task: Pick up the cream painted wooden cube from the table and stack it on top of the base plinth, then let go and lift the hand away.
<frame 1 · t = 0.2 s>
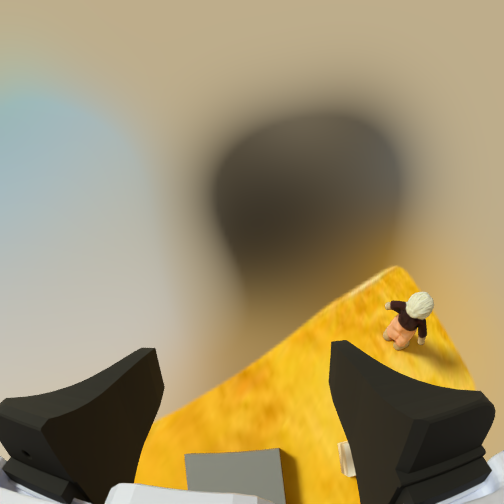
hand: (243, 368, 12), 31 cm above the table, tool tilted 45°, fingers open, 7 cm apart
cream cube: (355, 454, 32), on the table
base plinth: (238, 491, 31), on the table
grandmother figurine: (393, 336, 41), on the table
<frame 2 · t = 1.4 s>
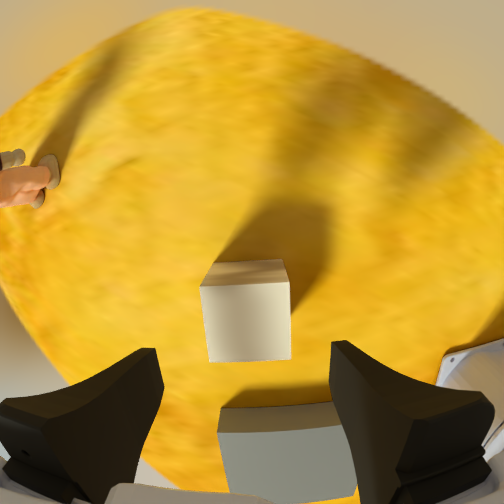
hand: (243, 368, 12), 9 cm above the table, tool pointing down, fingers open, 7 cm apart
cream cube: (249, 293, 21), on the table
base plinth: (293, 450, 24), on the table
grandmother figurine: (39, 186, 19), on the table
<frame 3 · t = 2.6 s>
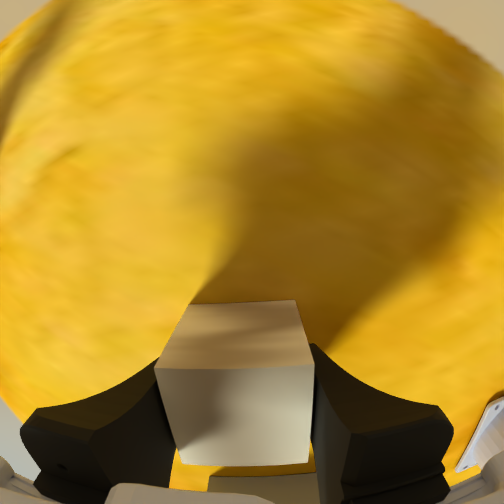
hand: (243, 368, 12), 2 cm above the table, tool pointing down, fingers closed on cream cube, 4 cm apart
cream cube: (244, 348, 13), on the table, touching gripper
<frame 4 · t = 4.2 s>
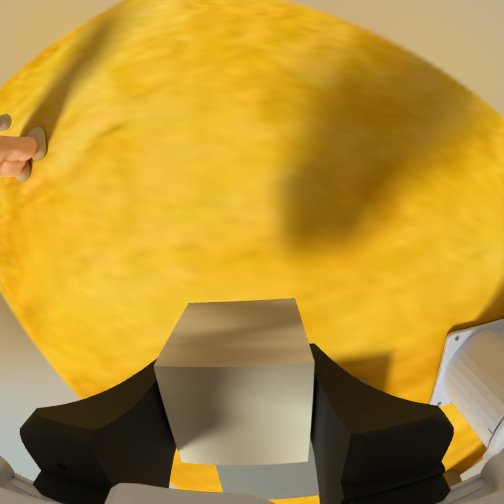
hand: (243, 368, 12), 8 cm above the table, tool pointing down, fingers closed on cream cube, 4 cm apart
cream cube: (244, 347, 13), point 7 cm above the table, touching gripper
base plinth: (289, 438, 23), on the table
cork: (439, 482, 26), on the table
grandmother figurine: (26, 159, 18), on the table
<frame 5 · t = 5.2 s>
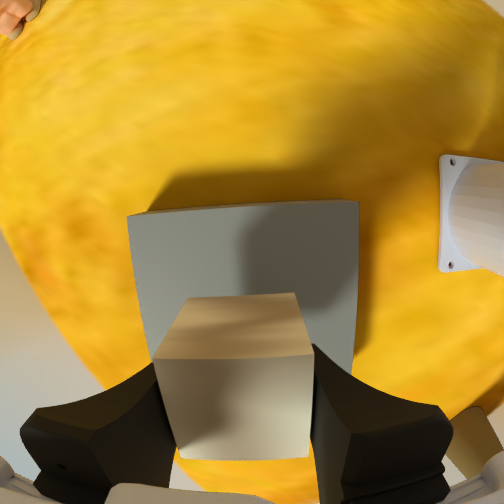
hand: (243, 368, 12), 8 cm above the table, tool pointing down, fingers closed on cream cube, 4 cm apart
cream cube: (244, 342, 13), point 6 cm above the table, touching gripper
base plinth: (249, 300, 19), on the table
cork: (459, 427, 22), on the table
grandmother figurine: (21, 24, 15), on the table
when the fingers open (6 cm above the table, at t = 6.0 s): cream cube stays where it is, resting on base plinth.
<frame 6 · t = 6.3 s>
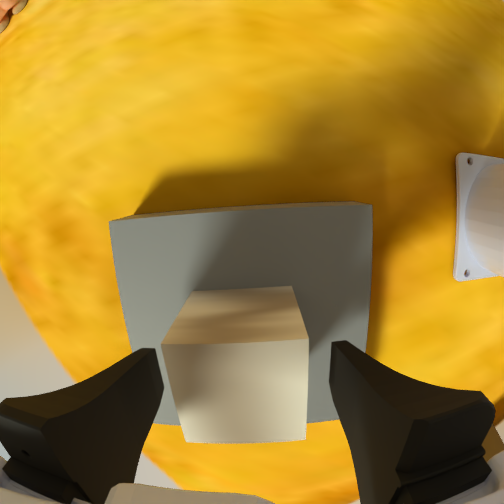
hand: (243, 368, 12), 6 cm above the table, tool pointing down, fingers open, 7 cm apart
cream cube: (245, 333, 14), point 3 cm above the table, touching base plinth
base plinth: (247, 313, 17), on the table
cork: (467, 438, 20), on the table
grandmother figurine: (7, 17, 13), on the table
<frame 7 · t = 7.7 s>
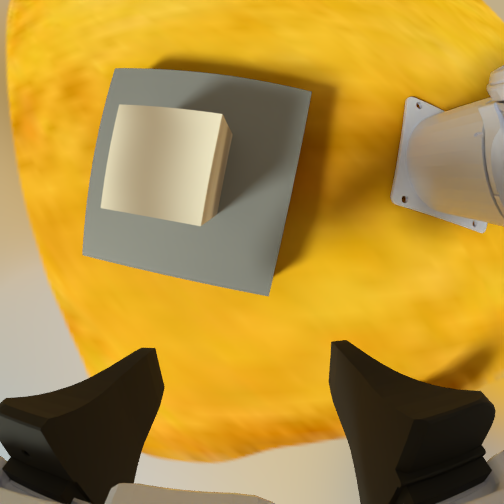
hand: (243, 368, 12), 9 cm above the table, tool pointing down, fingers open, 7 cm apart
cream cube: (185, 167, 16), point 3 cm above the table, touching base plinth
base plinth: (194, 174, 19), on the table
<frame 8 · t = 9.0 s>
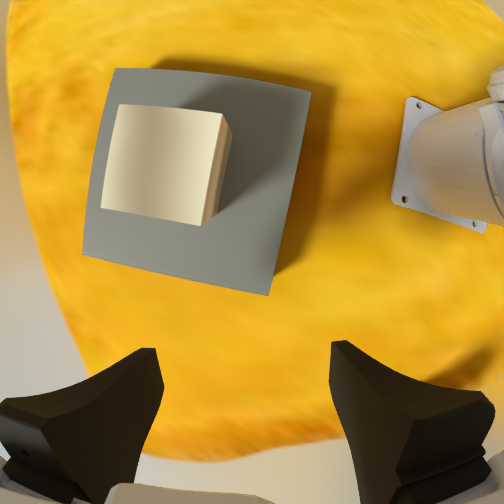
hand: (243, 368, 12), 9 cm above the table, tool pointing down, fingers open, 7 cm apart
cream cube: (185, 167, 16), point 3 cm above the table, touching base plinth
base plinth: (194, 174, 19), on the table
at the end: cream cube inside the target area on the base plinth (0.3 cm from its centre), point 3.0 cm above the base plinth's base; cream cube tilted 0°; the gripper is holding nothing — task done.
